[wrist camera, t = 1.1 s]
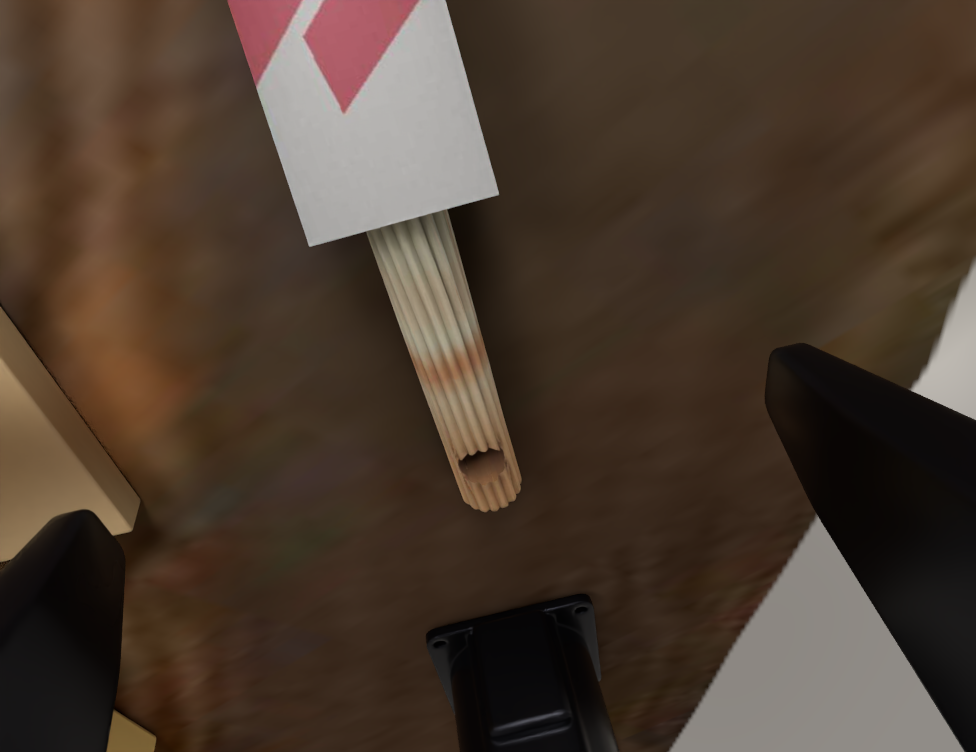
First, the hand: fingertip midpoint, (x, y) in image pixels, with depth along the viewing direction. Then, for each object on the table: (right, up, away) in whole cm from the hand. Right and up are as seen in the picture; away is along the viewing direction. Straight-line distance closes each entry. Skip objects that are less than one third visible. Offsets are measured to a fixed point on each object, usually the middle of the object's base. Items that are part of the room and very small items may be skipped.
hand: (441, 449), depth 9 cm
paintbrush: (-1, +6, +7) cm, 9 cm away
